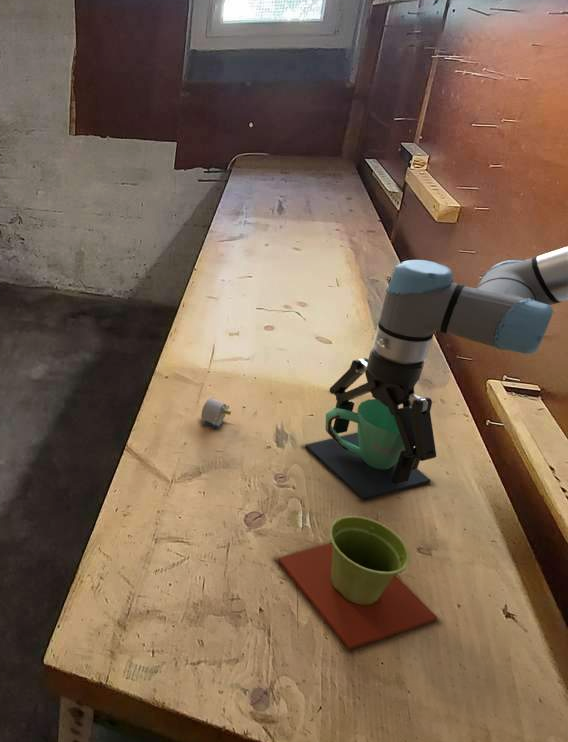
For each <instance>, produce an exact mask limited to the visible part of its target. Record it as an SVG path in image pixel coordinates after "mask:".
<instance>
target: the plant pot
mask: <svg viewBox="0 0 568 742" xmlns="http://www.w3.org/2000/svg"><path fill="white" fill-rule="evenodd" d="M329 540H330V543H332V547H333V554H332V568H331V581H332V584H333V586H334V588H335V589H337V590H338V591H339V592H340V593H341V594H342V595H343V597H344V598H346V599H348V600H349V601H351V602H354V603H357V604H361V605H369V604H372V603H374V602H376V601H377V600H378V599H379V598H380V596H381V595H382V593H383V592H384V590H385V589H386V587H387V586H388V584H389V583H390V581H391V580H392V579H393V577H394V576H397V575H398V574H401V573H403V572H404V571H405V570H407V568H408V567H409V565H410V562H411V554H410V551H409V550H410V549H409V548H408V546H407V545H406V543H405V541H404V540H403V539H402V538H401V537H400V536H399V535H398V534H397V533H396V532H395V531H394V530H392V528H390V527H388V526H386V525H385V524H383V523H381V522H379V521H377V520H374V519H372V518H368V517H364V516H358V515H348V516H347V515H345V516H341V517H339V518H337V519H335V520H334V521H333V522H332V524H331V525H330V526H329Z"/></svg>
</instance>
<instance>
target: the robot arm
mask: <svg viewBox="0 0 568 742" xmlns="http://www.w3.org/2000/svg"><path fill="white" fill-rule="evenodd" d="M453 276H454V275H453V271H452V270H451V269H450V267H448V266H446V265H444V264H439V263H437V262H435V261H431V260H425V259H408V260H404V261H401V262H399V263H397V264H396V265H395V266H394V269H393V271H392V275H391V277H390V281H389V284H388V286H387V287H386V290H385V296H384V300H383V304H382V308H381V312H380V315H379V320H378V322H377V328H376V331H375V335H374V338H373V342H372V348H371V349H370V352H369V356H368V358H367V357H363V358H359V359H354V360H352V362H351V364H350V366H349V368H348V370H347V371H346V372H345V373H344V374H343V375H341V377H339V379H338V380H336V381H335V382H334V384H333V385H331V387H330V388H329V393H330V394H332V395H334V397H335V400H336V404H335V407H334V408H339V409H345V410H349V411H352V412H354V411H353V410H354V407H355V403H354V402H353V401H352V400H354V399H356V398H359V397H362V396H364V395H366V394H369V393H370V394H371V397H372V398H373V399H377V400H380V401H381V402H382V404H384V405H385V406H386V407H387V406H388V408H389V411H390V413H391V414H392V415H394V418H395V421H396V423H397V426H398V429H399V432H400V435H401V438H402V441H403V444H404V447H405V450H404V451H401V453H400V456H399V459H398V462H397V465H396V468H395V471H394V474H393V477H392V480H391V482H393V483H394V484H398V483H402V482H406V481H408V479H409V476H410V474H411V471H414V470H416V469H417V470H418V467H419V465H420V462H424V461H427V460H432V459H435V458H437V450H436V443H435V435H434V430H433V429H434V428H433V423H432V416H431V411H432V410H431V409H432V405H433V400H432V398H431V397H429V396H426V397H422V396H419V395H418V394H416V392H415V386H416V384H417V383H418V382H419V380H420V378H421V376H422V372H423V369H424V367H425V360H426V359H427V357H428V354H429V352H430V347H431V344H432V342H433V339H434V335H435V332H439V333H443V334H448V335H451V336H455V337H458V338H462V339H465V340H469V341H473V342H476V343H479V344H483V345H487V346H489V347H494V348H496V349H498V350H502V351H510V352H515V353H519V354H524V355H531V354H534V353H536V352H537V351H538V350H539V348H540V347H541V346H540V345H541V344H542V341H543V339H544V336H545V334H546V332H547V329H548V327H549V324H550V322H551V320H552V316H553V313H554V309H553V307H552V306H553V305H556V304H560V303H562V302H565V301H566V302H567V301H568V246H564V247H562V248H559V249H555V250H552V251H549V252H546V253H543V254H540V255H537V256H534V257H530V258H527V259H524V260H521V259H520V260H519V259H509V260H504V261H501V262H498V263H496V264H494V265H492V266H491V267H490V268H489V269H488V270H487V271H486V272H484V273H483V275H482V276H481V277H480V280H479V282H478V284H477V286H476V287H471V286H465V285H463V284H459V283H455V282H454V279H453ZM364 374H365V378H366V383H363V384H361V385H359V386H357V387H355V388H352V389H350V390H348V389H349V388H350V387H351V386H353V384H355V382H356V381H357V380H358V379H359V378H361V377H362V375H364ZM401 405H402V407H399V409H398V408H397V406H401ZM350 422H351V421H350V420H347V419H341V418H335V419H334V422H333V426H332V428H333V429H334V430H335V431H336V433H337V434H338V435H339V434H343V433H346V432H348V429H349V425H350Z"/></svg>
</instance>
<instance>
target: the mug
mask: <svg viewBox="0 0 568 742" xmlns="http://www.w3.org/2000/svg"><path fill="white" fill-rule="evenodd" d="M397 408H398V409H399V408H400V405H398V406H397ZM356 411H357V412H355V411H349V410H345V409H339V408H335V407H334V408H332V409H331V410H329V411H327V412H326V413H325V428H324V429H325V432H326V433H327V434H328V435H329V436H330V438H331V439H332V438H333V439H334V440H335V441H336V443H337V444H338V445H339V446H340V447H341V448H343V449H345V450H347V451H349V452H351V453H353V454H355V455H357V456H359V457H361V458H362V459H363V461H364V462H365V463H366V464H368V465H369V466H371V467H374V468H377V469H383V470H385V469H389V468H391V467H392V466H393V465H394V464H396V463H397V462H398V459H399V456H400V453H401V451H404V450H405V447H404V444H403V441H402V438H401V435H400V432H399V429H398V426H397V423H396V421H395V418H394V415H392V414H391V413H390V411H389V408H388V406H387V407H386V406H385V405H384V404H382V402H381V401H380V400H377V399H375V398H372V399H371V398H370V399H366V400H364V401H362V402H360V404H359V405H358V407H357V410H356ZM335 418H341V419H347V420H350V422H353V423H356V424H357V433H358V442H359V447H357V446H355V445H353V444H351V443H349V442H347V441H345V440H343V439H341V438H340V437H341V436H340V435H339V433H338V434H337V433H336V431H335V430H334V429H333V426H332V423H333V420H335Z"/></svg>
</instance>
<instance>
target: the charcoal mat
mask: <svg viewBox="0 0 568 742" xmlns="http://www.w3.org/2000/svg"><path fill="white" fill-rule="evenodd" d="M340 438H341V439H343V440H345V441H347V442H349V443H351V444H353V445H355V446H357V447H359V442H358V432H354V433H350V434H345V435H342V436H340ZM305 448H306V450H307V451H308V452H310V453H311V454H312V455H313V456H314V457H315V458H316V459H317V460H318V461H319V462H320V463H322V464H323V465H324V466H325V468H327V469H328V470H329V471H330V472H332V473H333V474H334V476H335V477H337V478H338V479H339V480H340V481H341V482H342V483H343V484H344V485H345V486H346V487H348V488H349V490H351V491H352V492H353V493H354V494H355V495H356V496H357V497H359V498H360V499H361V500H362V501H366V500H369V499H373V498H377V497H381V496H385V495H388V494H393V493H396V492H400V491H403V490H407V489H411V488H414V487H418V486H422V485H426V484H429V483H431V482H432V481H431V480H432V479H430V478H429V477H428V476H426V475H425V474H424V473H423V472H421V471H420V470H419V469H418V468H417V469H416V470H414V471H411V474H410V476H409V479H408V481H406V482H402V483H398V484H394V483H393V482H391V480H392V477H393V474H394V471H395V468H396V465H397V463H396V464H394V465H393V466H392V467H391V468H389V469H385V470H383V469H377V468H374V467H371V466H369V465H368V464H366V463H365V462H364V461H363V459H362V458H361V457H359V456H357V455H355V454H353V453H351V452H349V451H347V450H345V449H343V448H341V447H340V446H339V445H338V444H337V443H336V441H335V440H334V439H333V438H332V437H331V438H328V439H326V440H320V441H316V442H312V443H307V444H305Z"/></svg>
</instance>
